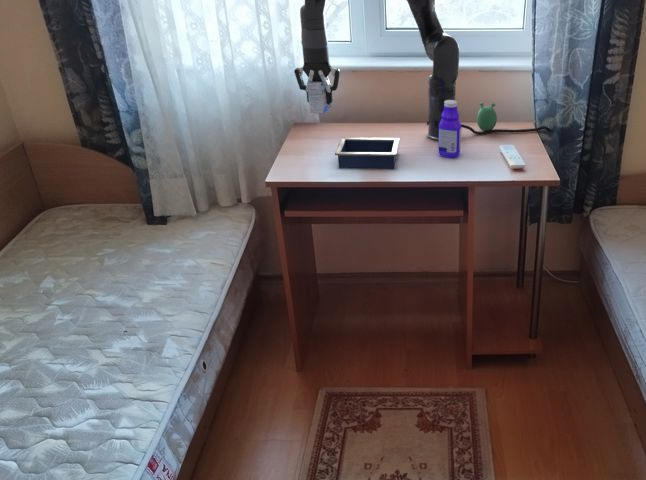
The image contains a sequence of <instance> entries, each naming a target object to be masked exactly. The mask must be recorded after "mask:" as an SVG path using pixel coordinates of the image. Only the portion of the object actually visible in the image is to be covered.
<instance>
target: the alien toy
mask: <svg viewBox="0 0 646 480" xmlns="http://www.w3.org/2000/svg"><path fill="white" fill-rule="evenodd" d="M484 104H485V103H484V102H482V101H481V102H480V103H479V104H478V106H480V107H481V108H480V109H479V110H478V113H477V116H476V122H477V126H478V128H479V130H481V131H482V132H483V131H488V130H494V129H495V127H496V125H497V120H498V116H497V112H496V110H495V109H494V107H496V103H495V102H492V103H491V104H490V105H491V106H484Z"/></svg>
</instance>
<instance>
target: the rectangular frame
mask: <svg viewBox="0 0 646 480" xmlns="http://www.w3.org/2000/svg"><path fill="white" fill-rule="evenodd" d="M399 144H400V137H341V138H340V140H339V142H338V145H337V147H336V149H335V152H334V156H337V161H338V162H337V163H338V169H347V170H349V169H351V170H353V169H355V170H357V169H358V170H394V169H395V167H396V162H397V159H398V158H397V157H398V148H399Z"/></svg>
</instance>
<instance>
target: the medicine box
mask: <svg viewBox="0 0 646 480" xmlns="http://www.w3.org/2000/svg"><path fill="white" fill-rule="evenodd" d="M306 85H307V88H308V97H309V103H308V106H309V113H310V114H319V115H320V114H321V115H324V114H325V113H326V112H327V111H328V110H329V109H330V108H332V103H331V104H330V105H328V104H327V90H326V87H325V86H324V83H323V82H320V81H312V83H309V84H307V83H306Z"/></svg>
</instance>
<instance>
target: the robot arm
mask: <svg viewBox="0 0 646 480" xmlns="http://www.w3.org/2000/svg"><path fill="white" fill-rule="evenodd" d="M405 1H406V3H407V6H408V8H409V10H410V13H411V15H412V18H413V19H414V21H415V23H416V26H417V29H418V32H419V35H420V39H421V42H422V45H423V49H424V51H425V52H424V53H425V54H426V56H427V57H428V59H429V60H430V61H431V62H432V74H431V75H429V76H428V81H427V83H428V84H427V85H428V88H427V91H428V92H427V93H428V94H427V95H428V96H427V97H428V98H427V99H428V101H427V102H428V106H427V107H428V109H427V111H428V112H427V114H428V115H427V117H428V119H427V121H426V126H427V127H428V129H427V130H428V133H427V136H428V137H427V138H429V139H431V140H433V141H439V124H440V121H441V119H442V116H441V115H442V113H443V111H444V101H446V100H455V101H456V89H457V87H456V85H457V80H458V76H459V69H460V68H459V66H460V46H459V42H458V41H457V39H456V38H455V37H453V36H451V35H449V34H447V33H446V32H445V30H444V29H443V27H442V24H441V22H440V20H439V18H438V14H437V10H436V0H405ZM326 4H327V0H304V4H303V5H302V6H301V7H300V9H299V17H300V28H301V33H300V34H301V36H300V37H301V41H300V43H301V47H302V59H303V65H302V66H301V67H295V69H294V70H293V71H294V72H293V73H294V76H295V79H296V81H297V84H298V87H299V90H300V91H304V92H306V93H305V94H306V102H307V103H308V104H309V97H308V88H307V84H309V83H312V81H320V82H323V83H324V86H325V87H326V90H327V104H328V105H330V104H331V105H332V103H333V100H334V99H333V92H334V91H337V89H338V87H339V83H340V82H339V81H340V75H341V69H340V67H339V68H335V67H332V66H331V64H330V63H331V62H330V53H329V52H330V51H329V40H328V32H327V26H326V24H327V23H326V14H325V11H326ZM330 73H331V75H332V77H333V83H332V85H331V82H330V79H329V75H330ZM303 74H305V75H306V76H307V82H306V84H305V81H304V79H303ZM548 127H549V126H547V127H546V125H542V126H539V127H535V128H522V129H521V128H519V129H504V128H498V129H497V128H493V129H492V130H488V131H483V130H482V131H478V130H477V131H476V130H475V129H474V128H473V127H471V126H469V125H467V124H462V123H461V128H463V129H466V130H469V131H471V132H472V133H473V134H474V135H479V136H480V135H487V134H492V133H512V134H513V133H529V132H538V131H540V130H547V131H548V132H550V131H552V129H551V128H550V127H549V128H548Z"/></svg>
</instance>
